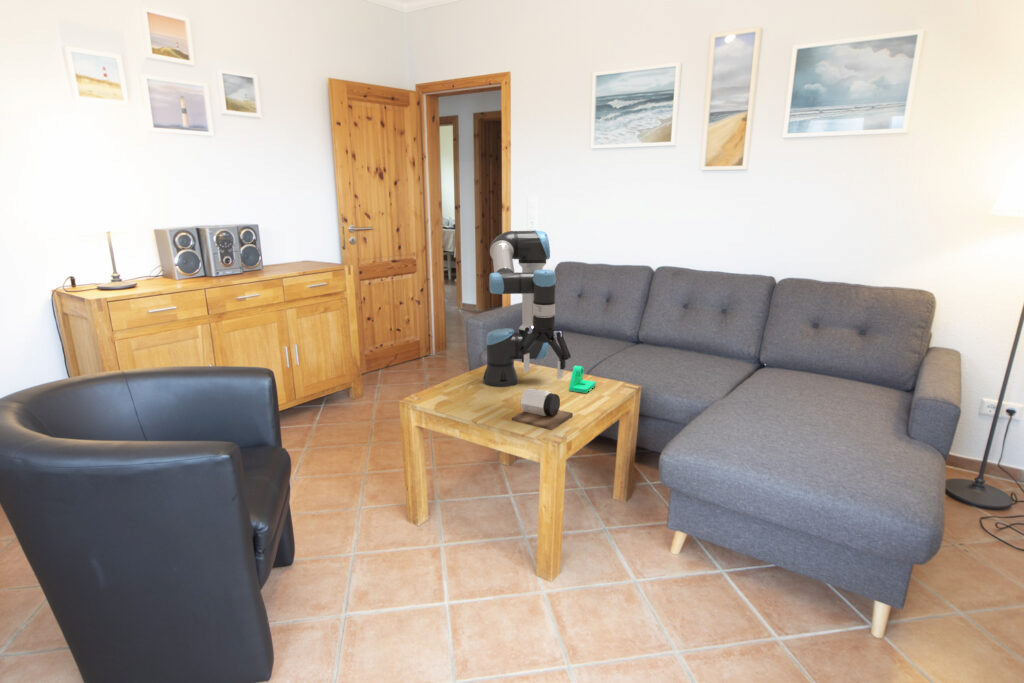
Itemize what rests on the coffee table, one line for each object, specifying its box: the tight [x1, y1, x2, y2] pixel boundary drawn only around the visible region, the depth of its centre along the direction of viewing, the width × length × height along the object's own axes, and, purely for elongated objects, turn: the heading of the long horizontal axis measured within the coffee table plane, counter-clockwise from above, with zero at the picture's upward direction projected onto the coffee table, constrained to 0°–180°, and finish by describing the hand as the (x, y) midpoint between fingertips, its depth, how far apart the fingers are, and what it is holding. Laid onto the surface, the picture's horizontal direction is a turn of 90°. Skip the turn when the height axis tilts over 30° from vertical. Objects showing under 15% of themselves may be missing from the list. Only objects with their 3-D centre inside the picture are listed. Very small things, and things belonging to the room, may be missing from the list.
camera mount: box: [568, 365, 597, 394], centre depth 234 cm, size 12×8×10 cm, turn 152°
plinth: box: [511, 409, 574, 431], centre depth 200 cm, size 16×16×2 cm
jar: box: [519, 388, 561, 416], centre depth 201 cm, size 9×8×12 cm
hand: (543, 374), depth 197 cm, fingers open, 13 cm apart
